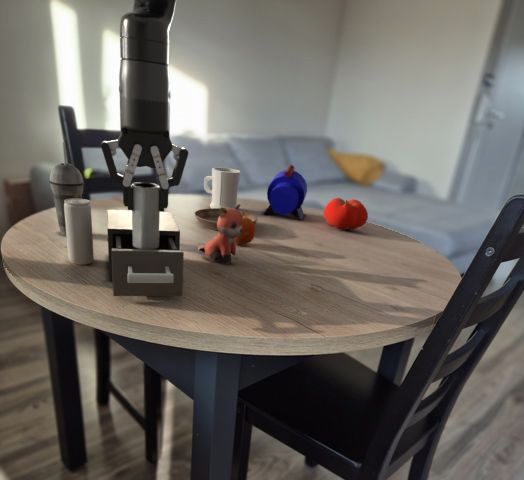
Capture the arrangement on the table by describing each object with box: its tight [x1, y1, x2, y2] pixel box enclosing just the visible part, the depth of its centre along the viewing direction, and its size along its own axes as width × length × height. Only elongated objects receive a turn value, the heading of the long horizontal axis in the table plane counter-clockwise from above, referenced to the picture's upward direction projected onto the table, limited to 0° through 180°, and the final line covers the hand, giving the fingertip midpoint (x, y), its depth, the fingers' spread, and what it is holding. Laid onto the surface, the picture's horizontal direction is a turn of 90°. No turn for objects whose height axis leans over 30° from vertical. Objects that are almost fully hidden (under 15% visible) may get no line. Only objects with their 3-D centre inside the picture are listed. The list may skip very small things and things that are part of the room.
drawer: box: [112, 234, 185, 297], centre depth 84 cm, size 19×12×8 cm, turn 16°
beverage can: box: [64, 198, 95, 266], centre depth 94 cm, size 5×5×12 cm
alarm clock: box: [263, 164, 308, 221], centre depth 153 cm, size 12×12×15 cm
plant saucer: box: [193, 207, 258, 231], centre depth 135 cm, size 18×18×3 cm
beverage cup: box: [49, 141, 85, 237], centre depth 109 cm, size 7×7×20 cm
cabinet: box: [106, 209, 181, 282], centre depth 95 cm, size 15×13×10 cm
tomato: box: [323, 197, 369, 231], centre depth 146 cm, size 14×13×9 cm
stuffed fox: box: [197, 204, 243, 265], centre depth 106 cm, size 8×11×12 cm
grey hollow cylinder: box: [131, 181, 160, 249], centre depth 82 cm, size 4×4×10 cm
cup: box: [203, 167, 241, 209], centre depth 151 cm, size 10×9×12 cm
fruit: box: [234, 212, 256, 246], centre depth 119 cm, size 7×7×8 cm
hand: (145, 209), depth 81 cm, fingers closed on grey hollow cylinder, 4 cm apart
